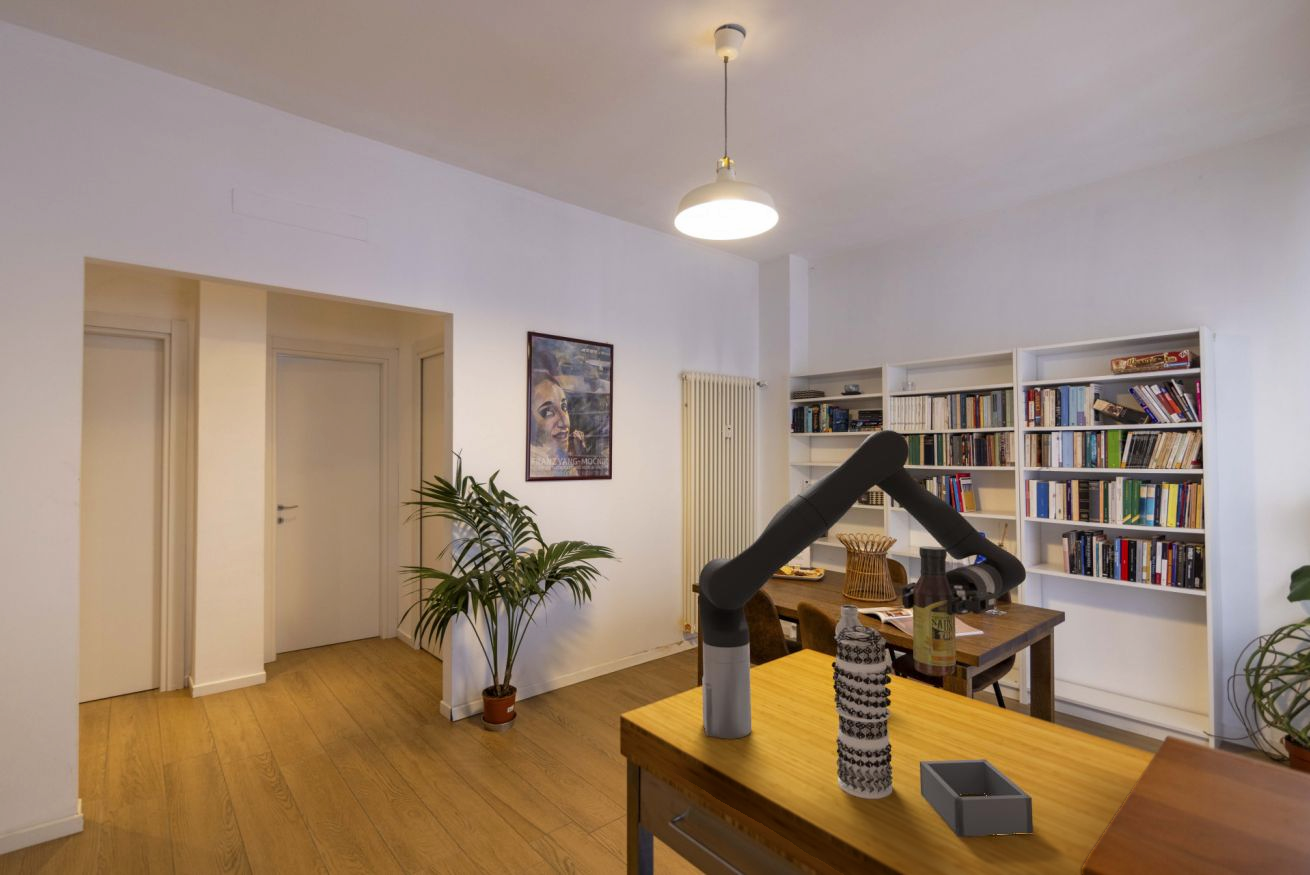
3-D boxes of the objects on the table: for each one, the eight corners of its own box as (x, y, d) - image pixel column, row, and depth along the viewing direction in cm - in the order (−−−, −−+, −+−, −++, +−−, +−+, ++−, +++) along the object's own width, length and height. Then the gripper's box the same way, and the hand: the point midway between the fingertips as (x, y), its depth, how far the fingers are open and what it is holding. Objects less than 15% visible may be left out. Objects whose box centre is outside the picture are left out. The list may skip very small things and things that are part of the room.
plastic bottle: (867, 693, 143) (864, 604, 144) (867, 704, 136) (864, 611, 137) (837, 690, 145) (835, 602, 146) (836, 701, 139) (833, 609, 140)
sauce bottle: (937, 681, 97) (933, 551, 98) (905, 669, 103) (901, 546, 104) (966, 674, 100) (961, 548, 101) (933, 663, 106) (929, 543, 106)
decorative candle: (888, 806, 96) (883, 640, 97) (828, 790, 101) (823, 632, 102) (900, 780, 104) (895, 626, 105) (844, 767, 109) (839, 620, 110)
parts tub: (958, 837, 88) (957, 800, 88) (920, 793, 100) (919, 761, 100) (1033, 834, 88) (1031, 797, 88) (986, 791, 100) (985, 759, 100)
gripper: (923, 563, 117) (882, 576, 105) (1009, 572, 107) (974, 587, 95) (924, 604, 117) (884, 621, 105) (1010, 616, 107) (976, 637, 95)
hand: (927, 605), depth 100 cm, fingers closed on sauce bottle, 6 cm apart
